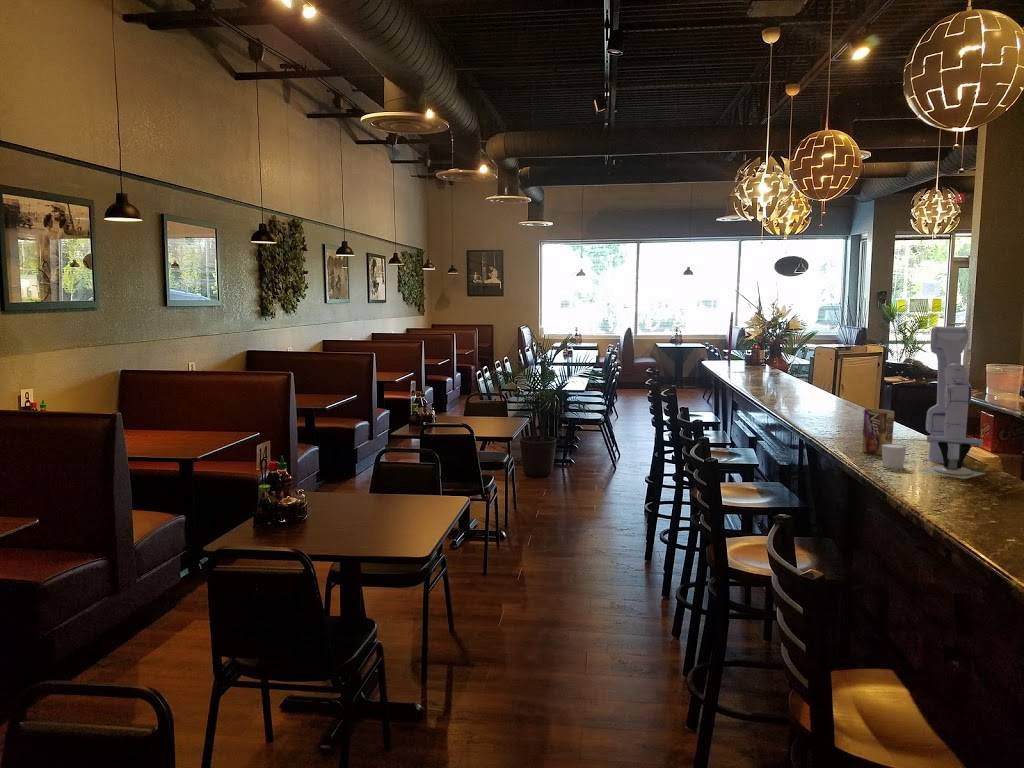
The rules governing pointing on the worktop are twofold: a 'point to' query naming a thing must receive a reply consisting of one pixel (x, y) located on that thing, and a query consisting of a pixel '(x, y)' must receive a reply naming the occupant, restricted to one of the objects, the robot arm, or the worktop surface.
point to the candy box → (877, 429)
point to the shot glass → (893, 455)
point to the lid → (952, 468)
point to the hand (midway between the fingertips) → (952, 467)
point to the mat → (953, 474)
